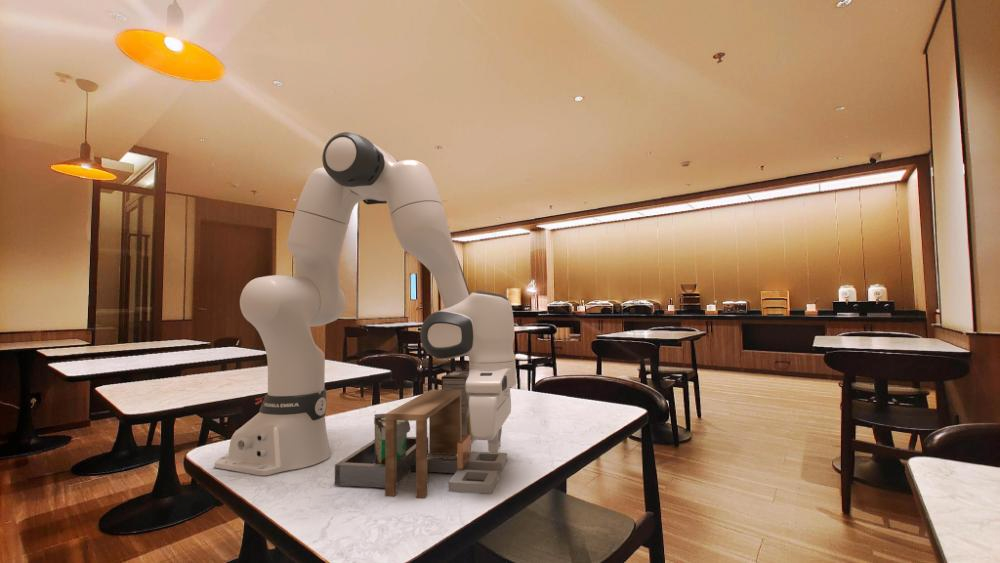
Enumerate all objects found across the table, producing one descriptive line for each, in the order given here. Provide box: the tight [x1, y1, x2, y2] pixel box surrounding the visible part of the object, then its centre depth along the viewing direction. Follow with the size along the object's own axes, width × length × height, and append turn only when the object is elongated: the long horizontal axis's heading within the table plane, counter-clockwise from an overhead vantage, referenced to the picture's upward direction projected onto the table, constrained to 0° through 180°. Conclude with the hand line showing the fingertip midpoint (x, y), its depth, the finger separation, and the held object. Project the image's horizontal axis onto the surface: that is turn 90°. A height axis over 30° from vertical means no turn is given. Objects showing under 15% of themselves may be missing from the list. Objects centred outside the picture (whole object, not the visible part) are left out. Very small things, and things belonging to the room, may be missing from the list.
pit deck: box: [447, 450, 508, 495], centre depth 78 cm, size 8×16×2 cm, turn 170°
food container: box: [373, 413, 411, 464], centre depth 81 cm, size 12×6×10 cm, turn 23°
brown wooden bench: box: [384, 389, 462, 499], centre depth 80 cm, size 7×22×14 cm, turn 169°
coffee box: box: [441, 370, 476, 445], centre depth 99 cm, size 9×6×16 cm
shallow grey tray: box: [334, 434, 472, 489], centre depth 80 cm, size 22×18×6 cm
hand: (494, 450), depth 77 cm, fingers closed
